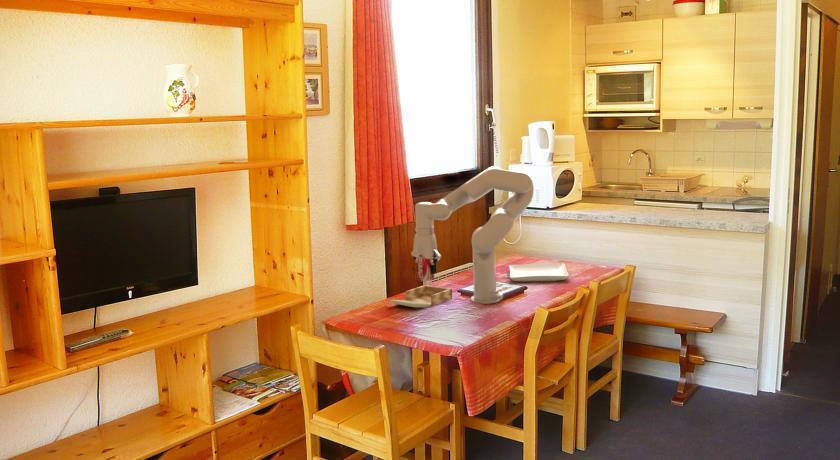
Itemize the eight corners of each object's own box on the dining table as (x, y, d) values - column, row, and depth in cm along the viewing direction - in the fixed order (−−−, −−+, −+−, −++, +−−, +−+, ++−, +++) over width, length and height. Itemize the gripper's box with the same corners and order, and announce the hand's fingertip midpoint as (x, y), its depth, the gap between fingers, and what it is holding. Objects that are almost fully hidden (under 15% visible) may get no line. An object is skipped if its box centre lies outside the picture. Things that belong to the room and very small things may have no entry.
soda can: (433, 281, 325) (432, 253, 323) (416, 281, 327) (415, 253, 325) (436, 277, 332) (435, 250, 330) (420, 277, 333) (419, 250, 331)
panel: (406, 300, 330) (389, 299, 322) (431, 304, 321) (415, 304, 313) (406, 302, 330) (389, 302, 322) (431, 307, 321) (414, 307, 313)
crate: (425, 295, 341) (424, 284, 340) (452, 300, 331) (451, 289, 330) (406, 302, 331) (405, 291, 330) (433, 307, 322) (432, 295, 321)
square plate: (564, 270, 380) (564, 262, 379) (569, 283, 353) (569, 275, 352) (509, 271, 383) (508, 263, 382) (509, 284, 356) (509, 276, 355)
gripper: (403, 231, 328) (405, 272, 331) (435, 234, 317) (437, 276, 320) (415, 228, 334) (416, 268, 337) (446, 231, 323) (448, 273, 326)
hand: (426, 272), depth 329 cm, fingers closed on soda can, 6 cm apart
